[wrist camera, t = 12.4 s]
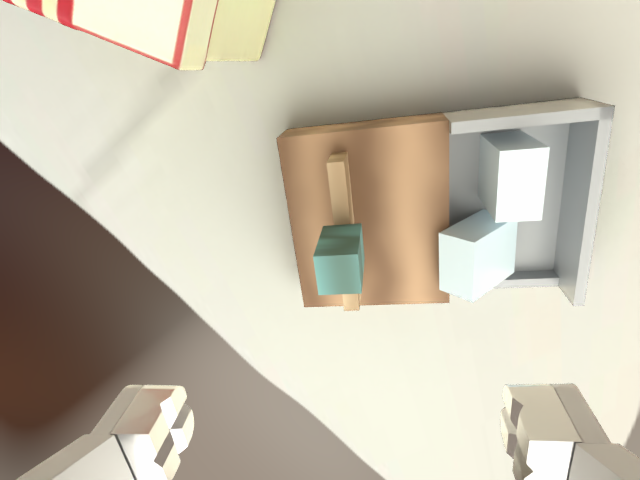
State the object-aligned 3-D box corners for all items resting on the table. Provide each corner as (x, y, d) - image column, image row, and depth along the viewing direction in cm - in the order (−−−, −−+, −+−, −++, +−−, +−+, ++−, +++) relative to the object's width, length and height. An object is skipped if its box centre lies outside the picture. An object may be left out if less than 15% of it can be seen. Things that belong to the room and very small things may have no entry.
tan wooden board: (311, 284, 41) (304, 307, 37) (287, 128, 35) (276, 138, 31) (443, 278, 39) (449, 302, 35) (441, 112, 33) (449, 120, 29)
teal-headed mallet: (337, 291, 36) (326, 351, 29) (320, 154, 31) (302, 185, 24) (370, 290, 36) (367, 351, 28) (358, 150, 31) (350, 181, 24)
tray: (443, 278, 39) (451, 309, 34) (441, 112, 33) (451, 122, 28) (559, 274, 37) (584, 305, 32) (581, 97, 31) (614, 105, 26)
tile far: (439, 289, 34) (472, 302, 31) (438, 233, 32) (474, 242, 29) (481, 262, 37) (514, 272, 35) (483, 209, 35) (518, 216, 33)
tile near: (495, 222, 29) (541, 220, 28) (499, 151, 27) (549, 147, 26) (477, 195, 34) (516, 192, 34) (480, 134, 32) (521, 130, 32)
